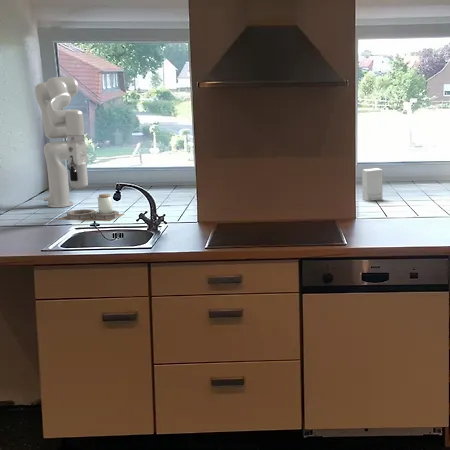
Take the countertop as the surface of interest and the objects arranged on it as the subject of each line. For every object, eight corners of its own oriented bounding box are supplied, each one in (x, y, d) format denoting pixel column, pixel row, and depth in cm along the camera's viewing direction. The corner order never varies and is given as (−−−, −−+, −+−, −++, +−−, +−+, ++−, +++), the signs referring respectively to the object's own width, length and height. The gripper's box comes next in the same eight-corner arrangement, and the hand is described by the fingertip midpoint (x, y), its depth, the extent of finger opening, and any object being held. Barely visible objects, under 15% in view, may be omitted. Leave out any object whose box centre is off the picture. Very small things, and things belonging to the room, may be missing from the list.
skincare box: (377, 198, 325) (377, 167, 322) (383, 200, 319) (383, 169, 316) (361, 199, 323) (361, 168, 320) (366, 201, 318) (367, 170, 314)
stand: (58, 221, 291) (57, 214, 291) (75, 215, 305) (74, 208, 305) (109, 223, 284) (109, 216, 283) (125, 216, 298) (124, 209, 297)
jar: (96, 218, 291) (95, 195, 288) (103, 215, 296) (101, 193, 294) (109, 218, 289) (107, 196, 287) (115, 216, 294) (113, 193, 292)
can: (84, 188, 289) (82, 160, 286) (68, 188, 291) (65, 160, 288) (90, 185, 296) (88, 158, 294) (75, 185, 298) (73, 158, 295)
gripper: (73, 141, 280) (76, 182, 283) (93, 137, 296) (95, 176, 300) (57, 141, 282) (61, 182, 286) (78, 137, 298) (81, 176, 302)
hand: (78, 179), depth 293 cm, fingers closed on can, 7 cm apart
